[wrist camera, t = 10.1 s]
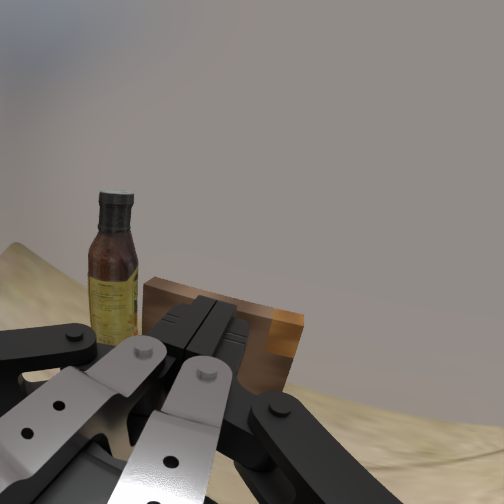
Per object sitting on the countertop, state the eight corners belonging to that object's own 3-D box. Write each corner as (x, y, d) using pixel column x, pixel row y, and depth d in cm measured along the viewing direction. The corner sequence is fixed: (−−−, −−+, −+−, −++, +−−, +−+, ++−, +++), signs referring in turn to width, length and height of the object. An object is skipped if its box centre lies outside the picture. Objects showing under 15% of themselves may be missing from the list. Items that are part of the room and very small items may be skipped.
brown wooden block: (135, 396, 24) (134, 288, 21) (154, 372, 28) (158, 272, 25) (266, 437, 22) (303, 333, 19) (272, 407, 27) (303, 308, 24)
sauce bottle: (145, 354, 33) (156, 197, 28) (102, 365, 29) (101, 195, 24) (125, 329, 37) (133, 189, 32) (86, 337, 33) (86, 187, 28)
